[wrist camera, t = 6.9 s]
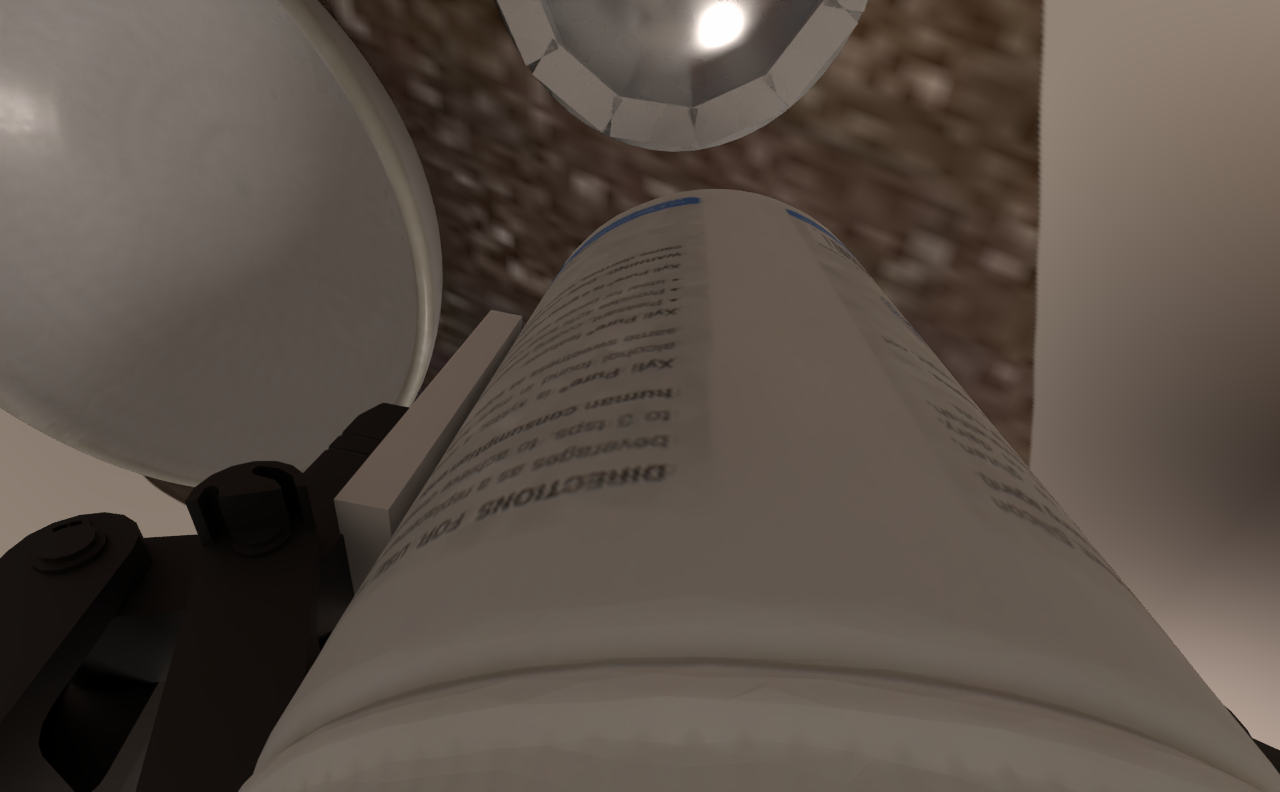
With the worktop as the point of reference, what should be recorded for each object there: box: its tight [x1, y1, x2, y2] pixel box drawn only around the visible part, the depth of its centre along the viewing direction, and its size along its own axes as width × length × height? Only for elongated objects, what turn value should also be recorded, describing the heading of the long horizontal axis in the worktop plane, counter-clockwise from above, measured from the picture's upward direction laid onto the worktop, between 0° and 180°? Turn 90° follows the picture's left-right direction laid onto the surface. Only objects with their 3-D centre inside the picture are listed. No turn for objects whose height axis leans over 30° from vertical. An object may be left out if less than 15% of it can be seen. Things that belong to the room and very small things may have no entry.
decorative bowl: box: [0, 0, 442, 487], centre depth 27 cm, size 27×27×12 cm
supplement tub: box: [238, 189, 1280, 792], centre depth 10 cm, size 10×10×15 cm
